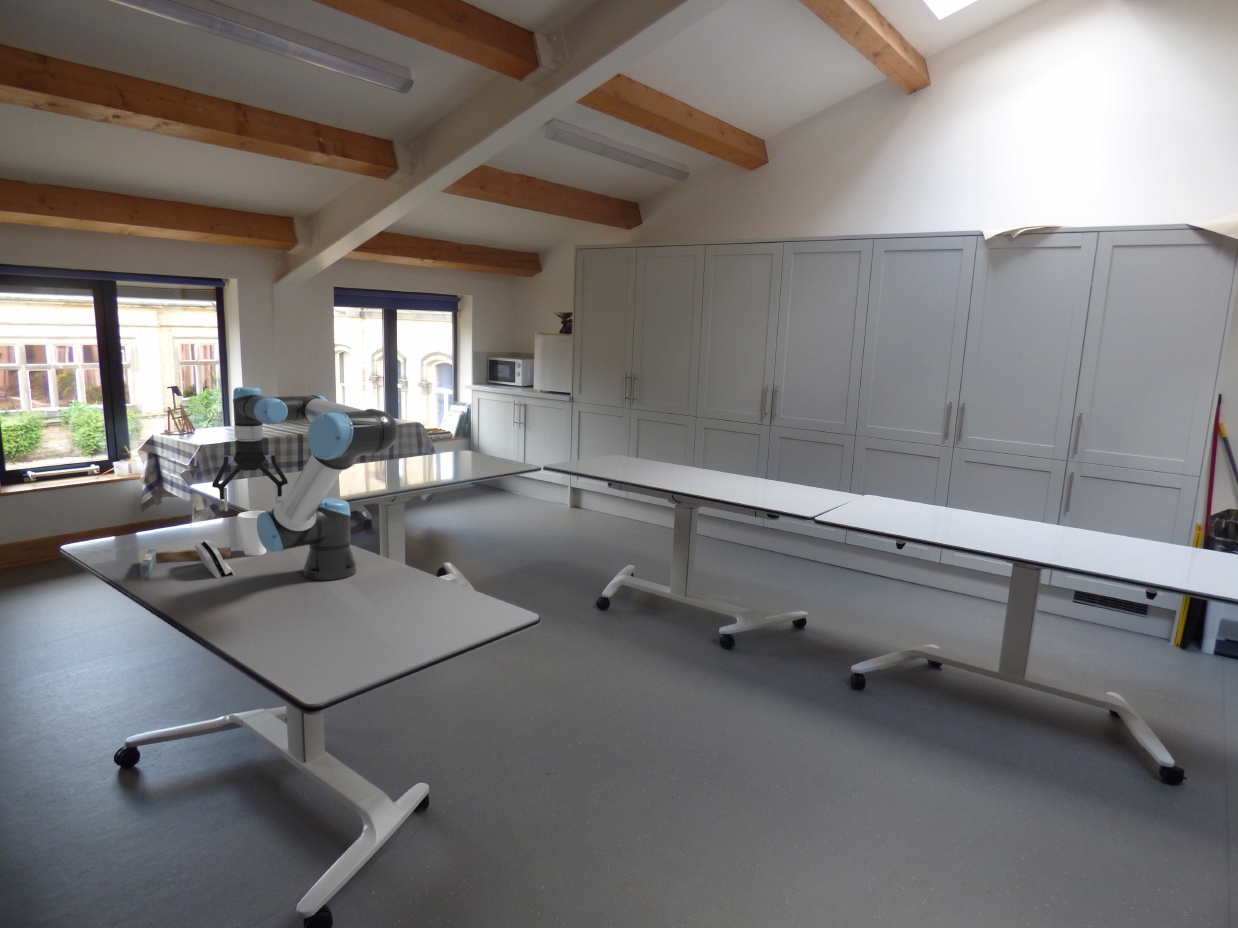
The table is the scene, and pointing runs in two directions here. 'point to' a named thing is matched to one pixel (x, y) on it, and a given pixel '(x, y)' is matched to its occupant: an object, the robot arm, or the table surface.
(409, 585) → the table surface
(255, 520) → the foam cup
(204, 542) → the white piece
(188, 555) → the wooden handled mallet
